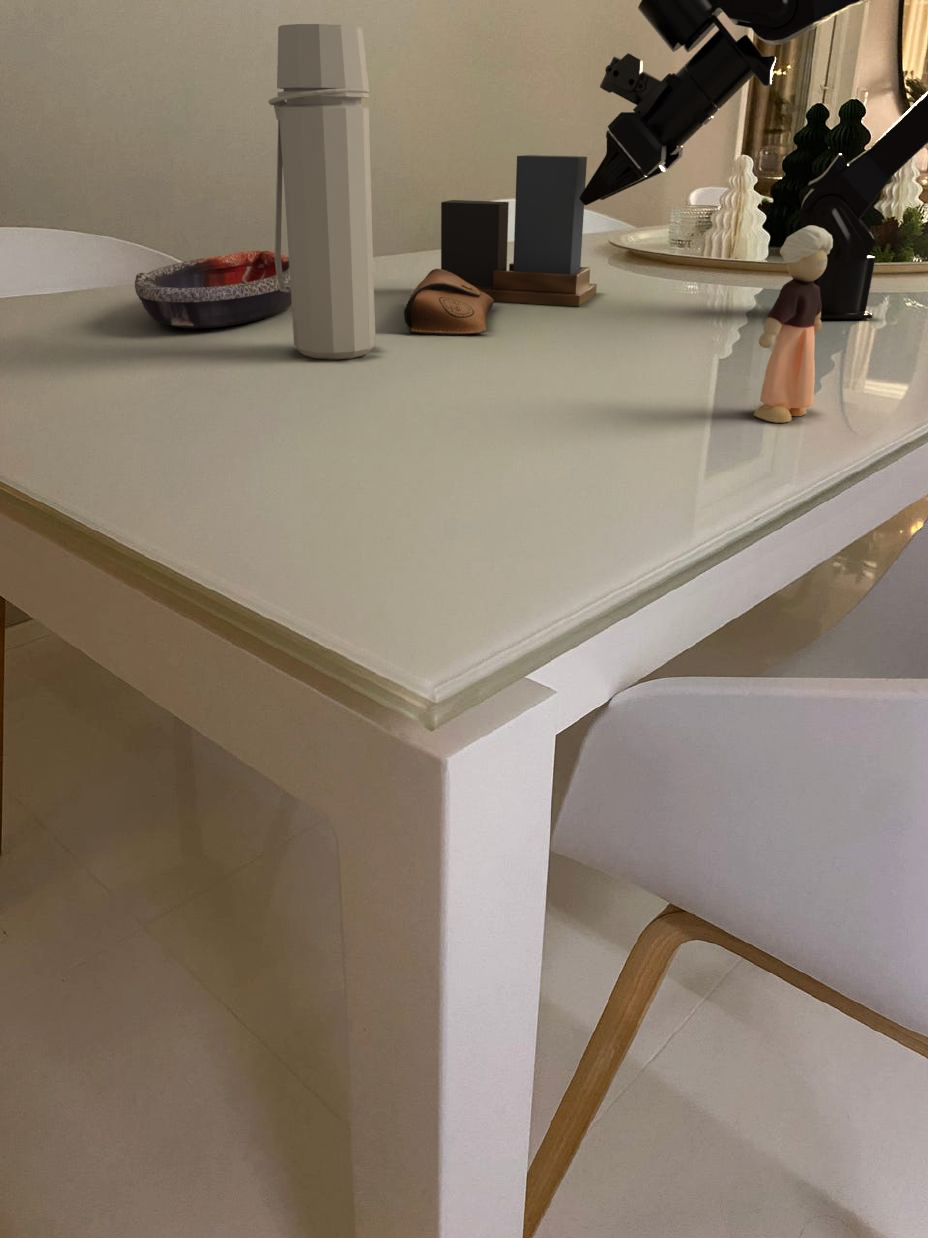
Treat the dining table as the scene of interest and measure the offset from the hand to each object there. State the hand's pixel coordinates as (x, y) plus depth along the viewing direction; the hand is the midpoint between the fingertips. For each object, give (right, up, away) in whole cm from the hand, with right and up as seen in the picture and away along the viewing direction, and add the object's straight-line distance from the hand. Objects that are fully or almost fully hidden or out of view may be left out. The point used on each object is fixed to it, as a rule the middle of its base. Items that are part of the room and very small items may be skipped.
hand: (590, 199), depth 113 cm
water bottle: (-27, -23, -23) cm, 42 cm away
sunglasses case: (-15, -16, -7) cm, 23 cm away
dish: (-39, -14, -5) cm, 42 cm away
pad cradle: (-9, -8, +7) cm, 14 cm away
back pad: (-5, -8, +6) cm, 11 cm away
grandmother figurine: (+9, -32, -40) cm, 53 cm away
